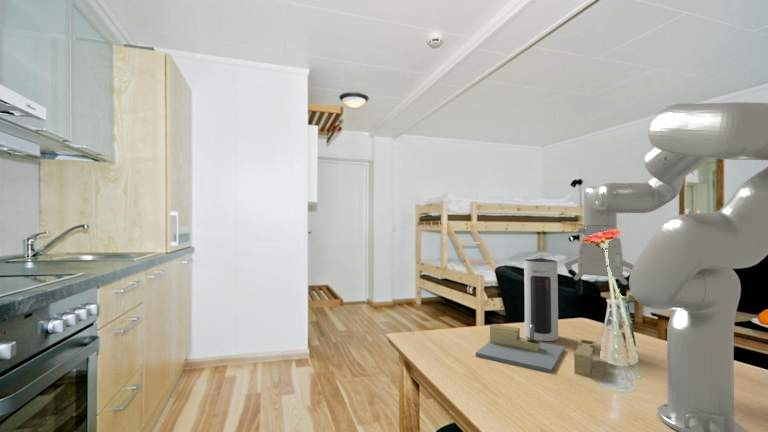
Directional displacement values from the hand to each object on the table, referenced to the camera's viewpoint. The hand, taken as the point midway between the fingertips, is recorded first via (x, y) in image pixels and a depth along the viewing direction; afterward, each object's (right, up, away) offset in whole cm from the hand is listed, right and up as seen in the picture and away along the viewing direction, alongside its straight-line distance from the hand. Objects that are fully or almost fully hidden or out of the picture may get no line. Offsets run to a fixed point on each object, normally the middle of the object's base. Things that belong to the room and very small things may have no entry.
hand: (600, 296), depth 97 cm
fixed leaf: (-18, -18, +13) cm, 28 cm away
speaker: (-5, -19, +24) cm, 31 cm away
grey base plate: (-18, -19, +9) cm, 27 cm away
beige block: (-4, -19, 0) cm, 19 cm away
